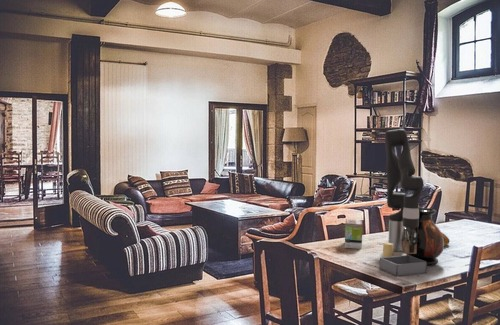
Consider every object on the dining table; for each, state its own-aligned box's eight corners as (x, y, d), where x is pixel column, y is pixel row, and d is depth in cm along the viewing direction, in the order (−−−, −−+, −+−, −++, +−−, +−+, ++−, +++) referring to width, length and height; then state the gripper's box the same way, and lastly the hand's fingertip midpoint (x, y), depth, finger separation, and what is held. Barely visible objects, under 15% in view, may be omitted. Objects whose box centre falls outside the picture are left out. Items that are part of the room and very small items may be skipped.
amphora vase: (408, 254, 260) (410, 204, 258) (449, 261, 246) (451, 209, 244) (393, 262, 243) (394, 209, 242) (435, 270, 229) (437, 214, 228)
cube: (402, 251, 231) (403, 241, 231) (412, 251, 231) (413, 241, 231) (406, 253, 226) (406, 243, 226) (416, 253, 226) (416, 243, 226)
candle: (388, 261, 245) (389, 242, 245) (394, 263, 241) (395, 244, 240) (380, 262, 244) (381, 243, 243) (386, 264, 239) (387, 245, 238)
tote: (408, 265, 237) (408, 255, 237) (426, 273, 224) (427, 261, 224) (379, 268, 231) (379, 257, 231) (396, 276, 219) (396, 264, 218)
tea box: (362, 249, 272) (362, 224, 271) (344, 248, 274) (345, 223, 273) (361, 243, 286) (362, 219, 286) (344, 242, 288) (345, 218, 288)
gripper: (423, 219, 221) (422, 255, 221) (413, 214, 235) (412, 247, 236) (408, 219, 221) (406, 254, 221) (398, 214, 235) (397, 247, 236)
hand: (409, 251), depth 229 cm, fingers closed on cube, 5 cm apart
